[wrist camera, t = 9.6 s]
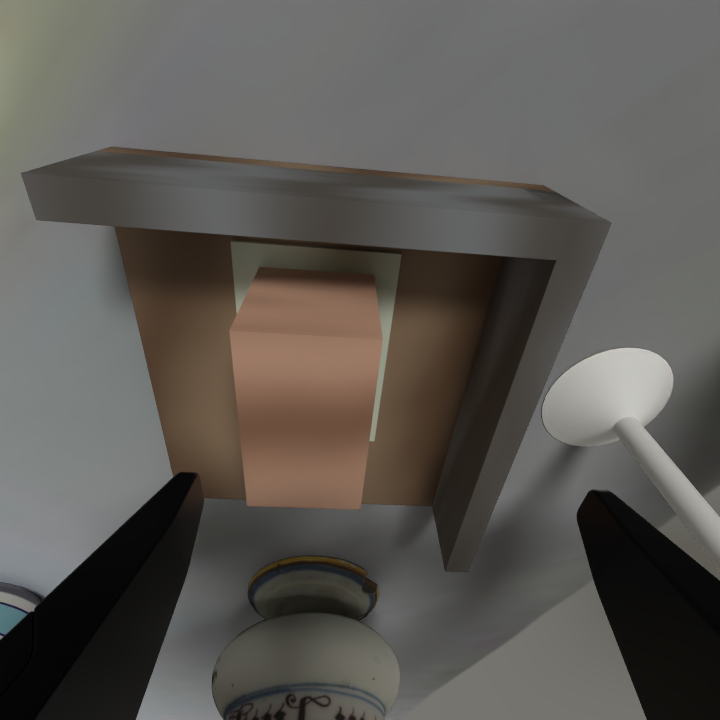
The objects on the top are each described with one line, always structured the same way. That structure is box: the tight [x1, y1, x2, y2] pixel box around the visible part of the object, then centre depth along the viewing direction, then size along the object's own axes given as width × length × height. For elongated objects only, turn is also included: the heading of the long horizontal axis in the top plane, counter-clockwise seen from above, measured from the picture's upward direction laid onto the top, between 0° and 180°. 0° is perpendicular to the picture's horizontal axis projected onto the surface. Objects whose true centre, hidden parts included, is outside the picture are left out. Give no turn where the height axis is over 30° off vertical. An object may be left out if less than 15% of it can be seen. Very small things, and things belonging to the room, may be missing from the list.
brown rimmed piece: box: [21, 147, 611, 572], centre depth 19 cm, size 16×18×5 cm
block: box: [229, 267, 383, 510], centre depth 17 cm, size 8×4×5 cm, turn 175°
